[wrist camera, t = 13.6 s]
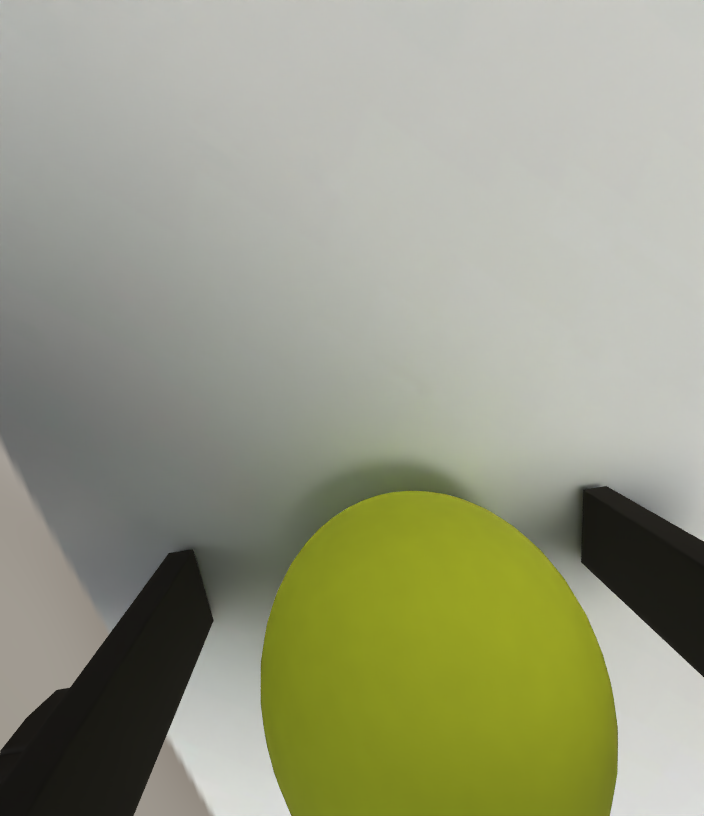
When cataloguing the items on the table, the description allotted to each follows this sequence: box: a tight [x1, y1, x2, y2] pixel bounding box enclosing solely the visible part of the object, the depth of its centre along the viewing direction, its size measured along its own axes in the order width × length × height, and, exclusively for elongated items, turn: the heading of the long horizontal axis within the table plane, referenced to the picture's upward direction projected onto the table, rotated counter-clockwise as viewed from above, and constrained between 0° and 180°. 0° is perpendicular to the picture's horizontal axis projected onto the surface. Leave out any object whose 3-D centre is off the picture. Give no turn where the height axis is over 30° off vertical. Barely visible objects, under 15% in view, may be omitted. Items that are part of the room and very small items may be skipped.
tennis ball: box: [261, 491, 618, 816], centre depth 8 cm, size 7×7×7 cm
